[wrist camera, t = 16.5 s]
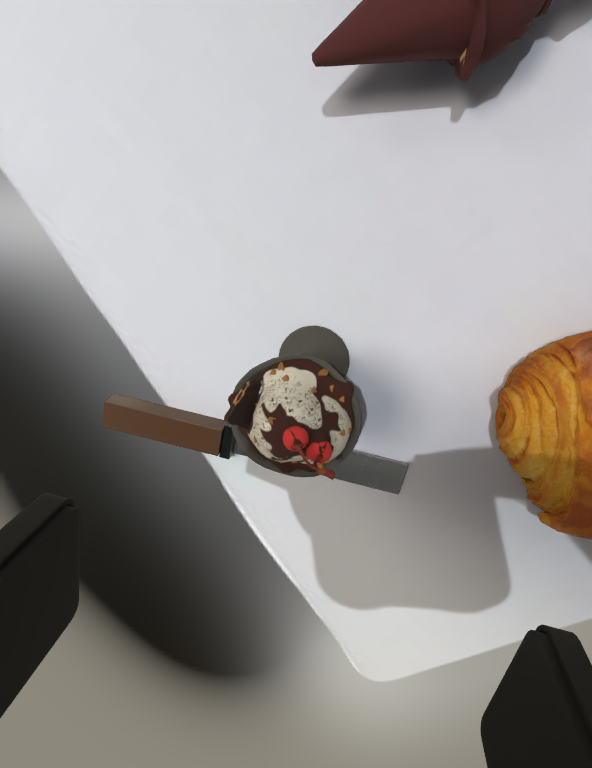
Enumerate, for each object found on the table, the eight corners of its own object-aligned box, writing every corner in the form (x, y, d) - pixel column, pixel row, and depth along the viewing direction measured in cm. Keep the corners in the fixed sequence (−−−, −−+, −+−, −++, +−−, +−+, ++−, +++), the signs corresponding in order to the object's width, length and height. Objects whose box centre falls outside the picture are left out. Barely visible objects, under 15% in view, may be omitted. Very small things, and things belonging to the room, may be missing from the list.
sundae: (379, 378, 32) (392, 504, 18) (296, 417, 34) (250, 558, 20) (334, 295, 31) (312, 363, 17) (250, 340, 33) (167, 435, 19)
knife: (408, 462, 34) (410, 473, 33) (397, 493, 35) (399, 505, 34) (115, 389, 35) (104, 397, 34) (113, 421, 36) (102, 430, 35)
